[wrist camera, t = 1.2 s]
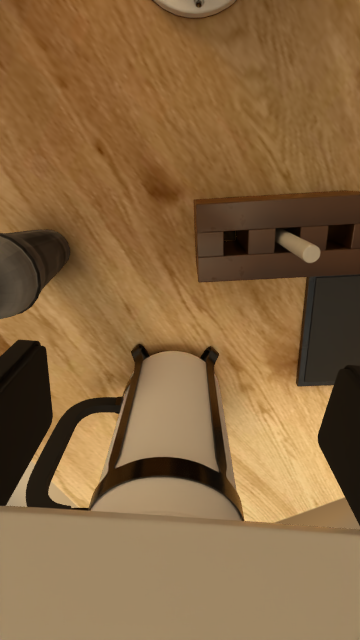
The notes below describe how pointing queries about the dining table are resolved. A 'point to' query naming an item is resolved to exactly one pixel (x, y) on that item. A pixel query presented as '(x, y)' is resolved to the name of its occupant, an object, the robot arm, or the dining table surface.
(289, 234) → the rod
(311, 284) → the tablet
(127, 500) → the coffee press
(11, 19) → the dining table surface
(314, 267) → the pen block
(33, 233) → the beverage cup
